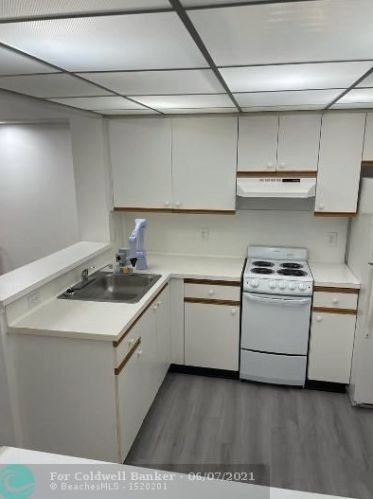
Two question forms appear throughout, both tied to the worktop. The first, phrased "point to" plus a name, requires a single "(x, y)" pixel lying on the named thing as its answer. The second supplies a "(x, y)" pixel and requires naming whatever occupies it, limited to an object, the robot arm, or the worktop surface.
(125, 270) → the toggle
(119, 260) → the circuit breaker
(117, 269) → the breaker panel
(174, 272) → the worktop surface
